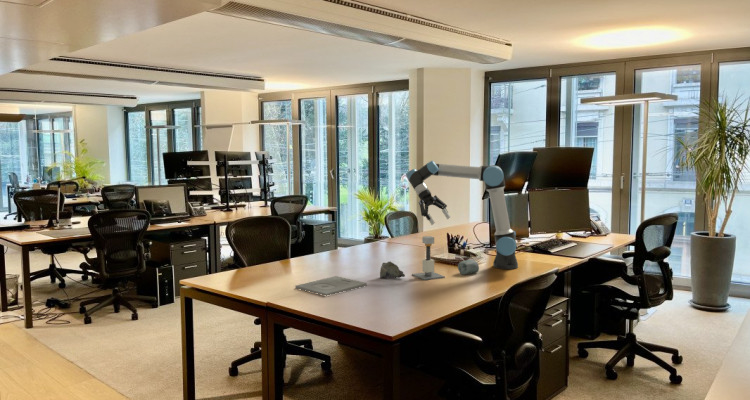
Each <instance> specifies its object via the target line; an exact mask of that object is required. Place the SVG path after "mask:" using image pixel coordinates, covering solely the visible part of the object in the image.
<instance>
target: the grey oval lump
mask: <svg viewBox="0 0 750 400" xmlns="http://www.w3.org/2000/svg"><path fill="white" fill-rule="evenodd" d="M457 269H458V272H459V274H461V275H462V276H466V275H470V274H476V273H478V272H479V270H480V267H479V263H478V262H477V261H476V260H474V259H467V260H463V261H459V263H458V264H457Z"/></svg>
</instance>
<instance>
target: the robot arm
mask: <svg viewBox="0 0 750 400" xmlns="http://www.w3.org/2000/svg"><path fill="white" fill-rule="evenodd" d="M504 174H505V173H504V171H503V170H502V168H501V166H499V165H495V164H494V165H493V164H492V165H481V166H470V165H457V164H443V163H436V162H435V161H434V160H430V161H428V163H425V164H424V165H423V166H422V167H420V168H419V169H416V168H413V169H410V170H408V172H407V173H406V178H407V180H408V182H409V184H410V185H411V187H412V188H413V190H414V191H415V193H416V194H417V195H418V198H419V201H418V205H419V208H420V213H421V214H420V215H421V216H422V217H426V220H427V221H428V222H429V223H430V225H431V226H433V225H434V224H436V222H435V220H434V219H433V217H432V216H431V214H430V213H429V207H430V206H435V207H437V208H438V209H441V212H442V213H443V214H444V215H443V216H445V218H446V220H449V219H451V215H450V214H449V211H448V209H447V207H448V205H447V204H446V203H445V202H444V201H442V200H441V199H440V198H439V197H438V196H437V195H436V194H435V195H434V196H432V192H431V190H430V189H428V186H427V184H426V183H425V182H424V181H425V180H427V179H428V178H430V177H431V176H436V177H439V176H440V177H450V178H461V179H472V180H479V181H480V182H484V185H485V191H487V192H488V193H489V198H490V199H489V200H490V205H491V211H492V215H493V220H494V221H493V222H494V226H495V227H494V228H495V232H494V234H493V235H494V241H495V248H496V250H495V251H496V253H495V254H496V255H495V257H494V260H493V262H492V263H493V267H494V268H496V269H500V270H514V269H518V267H519V263H518V260H517V256H516V249H517V243H516V236H517V233H516V230H513V229H511V225H510V224H511V223H510V218H509V212H508V207H507V202H506V196H505V191H504V190H505V188H506V181H505V176H504Z"/></svg>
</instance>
